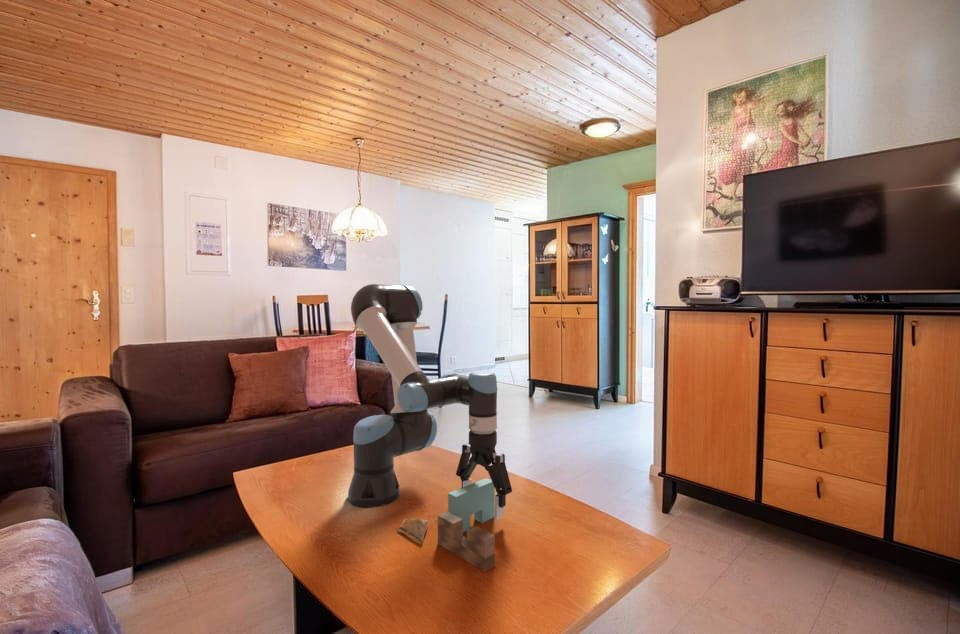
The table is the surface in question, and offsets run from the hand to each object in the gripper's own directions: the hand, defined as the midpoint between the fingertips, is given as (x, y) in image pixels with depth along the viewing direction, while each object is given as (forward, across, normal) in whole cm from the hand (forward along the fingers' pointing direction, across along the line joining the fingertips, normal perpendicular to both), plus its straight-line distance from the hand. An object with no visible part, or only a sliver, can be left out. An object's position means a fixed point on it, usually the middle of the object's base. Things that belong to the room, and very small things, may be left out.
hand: (482, 510), depth 121 cm
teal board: (+2, 0, -4) cm, 5 cm away
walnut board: (+2, +9, -15) cm, 18 cm away
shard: (+3, -7, -16) cm, 18 cm away
